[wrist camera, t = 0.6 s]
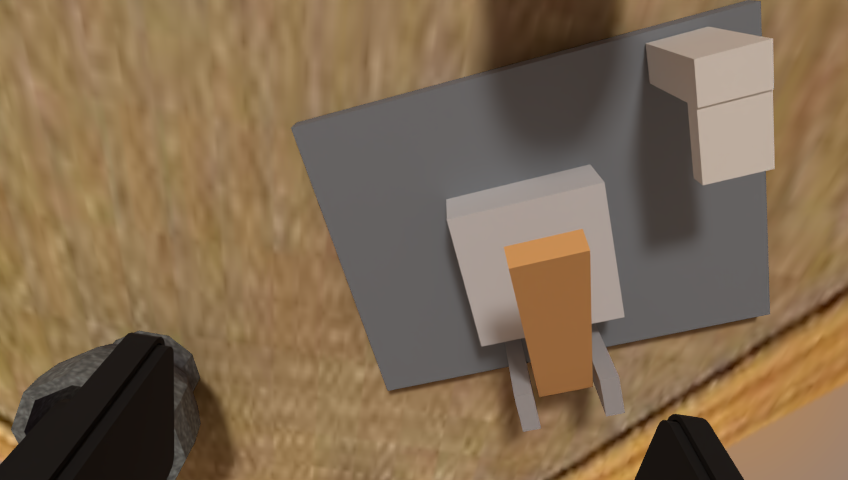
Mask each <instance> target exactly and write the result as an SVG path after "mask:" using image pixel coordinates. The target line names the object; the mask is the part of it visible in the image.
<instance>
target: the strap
mask: <svg viewBox="0 0 848 480" xmlns="http://www.w3.org/2000/svg"><path fill="white" fill-rule="evenodd" d="M504 251H505V255H506V259H507V264H508V268H509V272H510V276H511V280H512V285H513V289H514V293H515V297H516V301H517V306H518V310H519V314H520V318H521V323H522V327H523V331H524V335H525V339H526V344H527V348H528V352H529V356H530V360H531V365H532V369H533V373H534V377H535V381H536V386H537V390H538V394H539V397H543V396H548V395H553V394H558V393H563V392H569V391H574V390H579V389H584V388H589V387H593V370H592V317H591V264H590V248H589V245H588V242H587V240H586V237H585V234H584V231H583V229H579V230H575V231H571V232H566V233H562V234H558V235H553V236H549V237H545V238H540V239H536V240H531V241H527V242H523V243H518V244H514V245H510V246H505V247H504Z"/></svg>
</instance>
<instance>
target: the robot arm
mask: <svg viewBox="0 0 848 480" xmlns="http://www.w3.org/2000/svg"><path fill="white" fill-rule="evenodd" d="M173 461H174V351H173V348H172V347H170V346H165V341H164V339H163V338H162V337H158V336H151V335H144V334H138V333H129V334H127V335H126V336H125V337H124V338H123V339H122V341H121V342H120V343H119V344H118V345H117V346H116V348H115V349H114V350H113V351H112V352H111V353H110V355H109V356H108V357H107V358H106V359H105V360H104V361H103V363H102V364H101V365H100V366H99V367H98V368H97V370H96V371H95V372H94V373H93V374H92V375H91V377H90V378H89V379H88V380H87V381H86V382H85V383H84V385H83V386H82V387H81V388H80V389H79V390H78V392H77V393H76V394H75V395H74V396H73V397H72V399H63V400H60V401H58V402H57V403H56V404H55V405H54V406H52V407H51V408H50V410H49V411H48V412H47V413H46V414H45V415H44V416H43V417H42V418H41V420H40V421H39V422H38V423H37V424H36V425H35V426H34V427H33V429H32V430H31V431H30V432H29V433H28V434H27V435H26V436H25V438H24V439H23V440H22V441H21V442H20V443H19V444H18V445H17V446H16V448H15V449H14V450H13V451H12V452H11V453H10V454H9V455H8V457H7V458H6V459H5V460H4V461H3V462H2V463H1V464H0V480H167V478H168V476H169V474H170V471H171V469H172V465H173ZM635 480H744V479H743V477H742V476H741V474H740V473H739V471H738V469H737V468H736V466H735V464H734V463H733V461H732V460H731V458H730V456H729V455H728V453H727V451H726V450H725V448H724V447H723V445H722V443H721V442H720V440H719V439H718V437H717V435H716V434H715V432H714V431H713V429H712V427H711V426H710V424H709V423H708V422H707V421H706V420H705V419H703V418H699V417H692V416H685V415H679V414H673V415H671V416H670V417H669V418H668V420H662V421H661V422H660V423H659V425H658V427H657V429H656V432H655V434H654V436H653V439H652V441H651V443H650V445H649V448H648V450H647V452H646V455H645V457H644V459H643V461H642V464H641V466H640V468H639V471H638V473H637V475H636V477H635Z"/></svg>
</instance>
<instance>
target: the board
mask: <svg viewBox="0 0 848 480" xmlns="http://www.w3.org/2000/svg"><path fill="white" fill-rule="evenodd" d="M705 27H714V28H719V29H724V30H730V31H735V32H740V33H745V34H751V35H756V36H761V37H762V31H761V1H752V0H747V1H744V2H740V3H736V4H733V5H729V6H725V7H722V8H718V9H714V10H710V11H707V12H703V13H699V14H696V15H692V16H688V17H685V18H681V19H677V20H674V21H670V22H666V23H663V24H659V25H655V26H651V27H648V28H644V29H640V30H637V31H633V32H629V33H626V34H622V35H618V36H615V37H611V38H607V39H604V40H600V41H596V42H592V43H589V44H585V45H581V46H578V47H574V48H570V49H567V50H563V51H559V52H556V53H552V54H548V55H545V56H541V57H537V58H533V59H530V60H526V61H522V62H519V63H515V64H511V65H508V66H504V67H500V68H497V69H493V70H489V71H485V72H482V73H478V74H474V75H471V76H467V77H463V78H460V79H456V80H452V81H449V82H445V83H441V84H438V85H434V86H430V87H426V88H423V89H419V90H415V91H412V92H408V93H404V94H401V95H397V96H393V97H390V98H386V99H382V100H379V101H375V102H371V103H367V104H364V105H360V106H356V107H353V108H349V109H345V110H342V111H338V112H334V113H331V114H327V115H323V116H319V117H316V118H312V119H308V120H305V121H301V122H297V123H296V124H295V125H294V126H293V127H292V128H291V129H292V132H293V135H294V137H295V140H296V143H297V145H298V148H299V151H300V154H301V156H302V159H303V162H304V164H305V167H306V170H307V173H308V175H309V178H310V181H311V184H312V186H313V189H314V192H315V194H316V197H317V200H318V203H319V205H320V208H321V211H322V213H323V216H324V219H325V222H326V224H327V227H328V230H329V232H330V235H331V238H332V241H333V243H334V246H335V249H336V252H337V254H338V257H339V260H340V262H341V265H342V268H343V271H344V273H345V276H346V279H347V281H348V284H349V287H350V290H351V292H352V295H353V298H354V300H355V303H356V306H357V309H358V311H359V314H360V317H361V320H362V322H363V325H364V328H365V330H366V333H367V336H368V339H369V341H370V344H371V347H372V349H373V352H374V355H375V358H376V360H377V363H378V366H379V368H380V371H381V374H382V377H383V379H384V382H385V385H386V388H387V390H388V391H390V390H395V389H399V388H404V387H409V386H414V385H419V384H424V383H429V382H434V381H439V380H444V379H449V378H454V377H459V376H464V375H469V374H474V373H479V372H484V371H489V370H494V369H499V368H504V367H509V370H510V376H511V381H512V387H513V393H514V398H515V402H516V406H517V410H518V414H519V417H520V421H521V425H522V429H523V432H524V431H529V430H535V429H540V428H541V426H540V422H539V417H538V413H537V408H536V404H535V399H534V395H533V390H532V385H531V381H530V376H529V372H528V367H527V363H529V362H531V360H530V356H529V352H528V348H527V344H526V339H525V335H524V331H523V327H522V323H521V318H520V314H519V310H518V306H517V301H516V297H515V293H514V289H513V285H512V280H511V276H510V272H509V268H508V264H507V259H506V255H505V251H504V247H505V246H510V245H514V244H518V243H523V242H527V241H531V240H536V239H540V238H545V237H549V236H553V235H558V234H562V233H566V232H571V231H575V230H579V229H583V231H584V234H585V237H586V240H587V242H588V245H589V248H590V264H591V317H592V370H593V382H594V385H595V387H596V390H597V393H598V395H599V398H600V401H601V403H602V406H603V409H604V411H605V414H606V416H610V415H616V414H621V413H625V411H624V405H623V398H622V392H621V386H620V380H619V376H618V373H617V371H616V369H615V367H614V364H613V362H612V360H611V358H610V355H609V353H608V351H607V349H606V347H608V346H613V345H618V344H623V343H628V342H633V341H638V340H643V339H648V338H653V337H658V336H663V335H668V334H673V333H678V332H683V331H688V330H693V329H698V328H703V327H708V326H713V325H718V324H723V323H728V322H733V321H738V320H743V319H748V318H753V317H758V316H763V315H768V314H770V301H769V267H768V233H767V200H766V171H763V172H758V173H754V174H750V175H745V176H741V177H737V178H733V179H728V180H724V181H720V182H715V183H711V184H707V185H702V184H700V183H699V182H698V181H697V180H695V179H694V176H693V164H692V152H691V140H690V128H689V116H688V104H687V102H685V101H683V100H681V99H679V98H677V97H675V96H673V95H671V94H669V93H667V92H665V91H664V90H662V89H660V88H658V87H656V86H654V85H652V84H650V80H649V71H648V62H647V53H646V43H649V42H652V41H656V40H660V39H663V38H667V37H671V36H675V35H678V34H682V33H686V32H690V31H693V30H697V29H701V28H705Z"/></svg>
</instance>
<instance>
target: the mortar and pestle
mask: <svg viewBox="0 0 848 480" xmlns="http://www.w3.org/2000/svg"><path fill="white" fill-rule="evenodd" d="M135 333H138V334H144V335H151V336H158V337H162V338H163V339H164V341H165V346H170V347H172V348H173V351H174V461H173V465H172V469H171V471H170V474H169V476H168V478H167V480H175V479H176V477H177V476H178V474H179V472H180V470H181V468H182V466H183V464H184V462H185V460H186V458H187V456H188V454H189V452H190V451H191V449H192V447H193V445H194V443H195V440H196V437H197V434H198V430H199V427H200V423H201V422H200V417H199V411H198V405H197V403H196V400H195V397H194V394H193V391H194V389H195V387H196V385H197V383H198V381H199V379H200V376H199V373H198V370H197V367H196V364H195V361H194V358H193V356H192V354H191V353H190V352H189V351H187V350H186V349H185V348H183V347H182V346H181V345H180V344H178V343H177V342H176V341H174V340H173V339H172V338H171V337H169V336H166V335H160V334H154V333H149V332H143V331H137V332H135ZM123 338H124V337H123ZM123 338H121V339H118V340H116V341H115V342H114V343H113V344H109V345H105V346H100V347H97V348H94V349H92V350H90V351H87V352H85V353H82V354H80V355H78V356H75V357H73V358H70V359H68V360H66V361H63V362H61V363H58V364H57V365H56V366H54V367H53V368H51V369H50V370H48V371H47V372H46V373H44V374H43V375H41V376H40V377H39V378H38V379H37V380H36V381H35V382H34V383H33V384H32V385H31V386H30V387H29V388H28V389H27V390H26V391H25V392H24V393H23V395H22V398H21V401H20V404H19V407H18V410H17V413H16V416H15V419H14V423H13V426H12V429H11V430H12V432H13V434H14V436H15V438H16V440H17V442H18V443H20V442H21V441H22V440H23V439H24V438H25V436H26V435H27V434H28V433H29V432H30V431H31V430H32V429H33V427H34V426H35V425H36V424H37V423H38V422H39V421H40V420H41V418H42V417H43V416H44V415H45V414H46V413H47V412H48V411H49V410H50V408H51V407H52V406H54V405H55V404H56V403H57V402H58V401H60V400H63V399H72V397H73V396H74V395H75V394H76V393H77V392H78V390H79V389H80V388H81V387H82V386H83V385H84V383H85V382H86V381H87V380H88V379H89V378H90V377H91V375H92V374H93V373H94V372H95V371H96V370H97V368H98V367H99V366H100V365H101V364H102V363H103V361H104V360H105V359H106V358H107V357H108V356H109V355H110V353H111V352H112V351H113V350H114V349H115V348H116V346H117V345H118V344H119V343H120V342H121V341H122V339H123Z"/></svg>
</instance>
